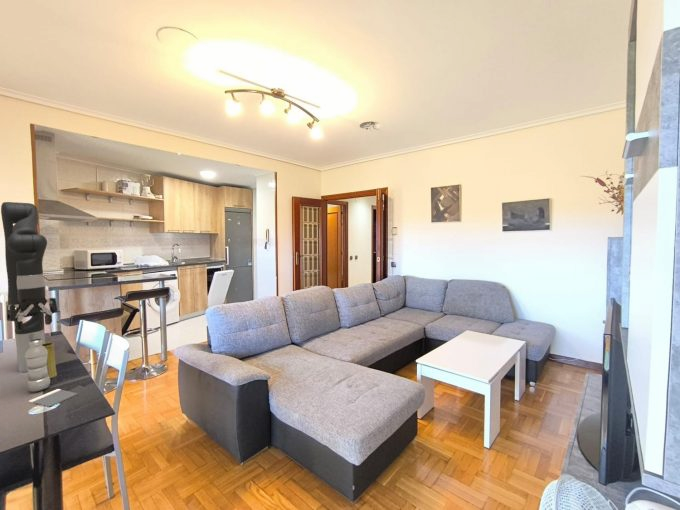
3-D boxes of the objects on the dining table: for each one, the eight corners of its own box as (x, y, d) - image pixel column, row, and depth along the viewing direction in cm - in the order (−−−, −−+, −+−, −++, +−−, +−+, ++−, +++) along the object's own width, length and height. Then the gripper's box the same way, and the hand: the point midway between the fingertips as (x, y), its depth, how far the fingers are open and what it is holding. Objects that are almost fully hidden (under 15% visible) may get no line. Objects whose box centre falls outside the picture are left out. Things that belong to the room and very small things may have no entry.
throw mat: (28, 402, 110) (28, 400, 110) (58, 390, 119) (57, 388, 119) (49, 407, 107) (49, 406, 107) (78, 394, 115) (77, 393, 115)
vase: (46, 374, 133) (43, 342, 132) (61, 373, 133) (58, 341, 132) (33, 380, 127) (30, 347, 126) (49, 380, 127) (46, 347, 126)
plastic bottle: (30, 395, 115) (26, 344, 113) (25, 391, 118) (21, 341, 117) (53, 388, 120) (49, 339, 119) (47, 384, 124) (43, 336, 122)
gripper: (47, 283, 124) (50, 321, 126) (-1, 289, 111) (3, 332, 112) (59, 283, 122) (62, 323, 123) (12, 290, 109) (16, 334, 110)
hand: (34, 327), depth 118 cm, fingers open, 8 cm apart
